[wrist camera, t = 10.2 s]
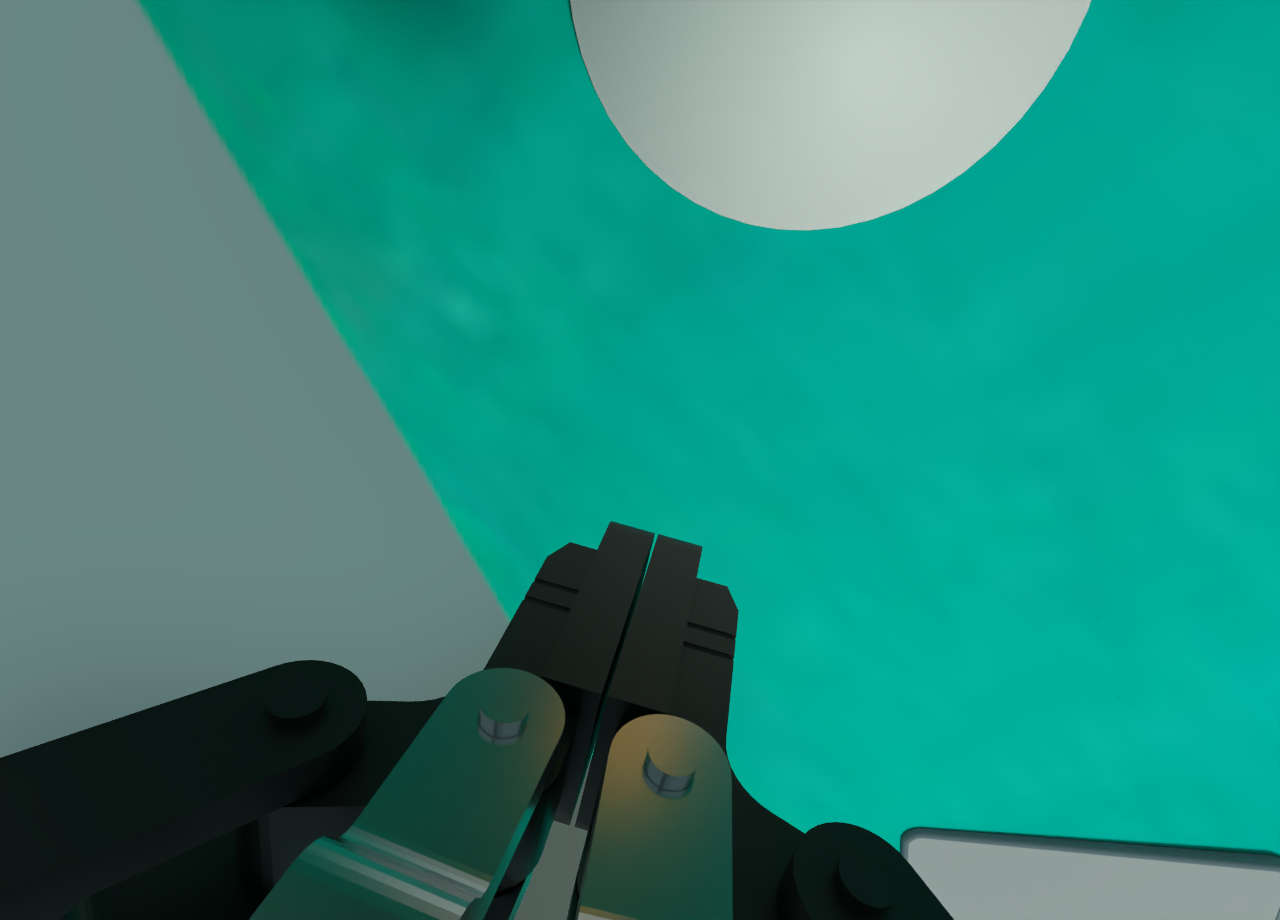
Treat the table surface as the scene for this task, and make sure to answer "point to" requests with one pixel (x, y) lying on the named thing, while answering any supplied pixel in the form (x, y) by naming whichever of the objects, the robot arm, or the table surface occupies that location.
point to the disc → (818, 95)
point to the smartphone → (1089, 879)
